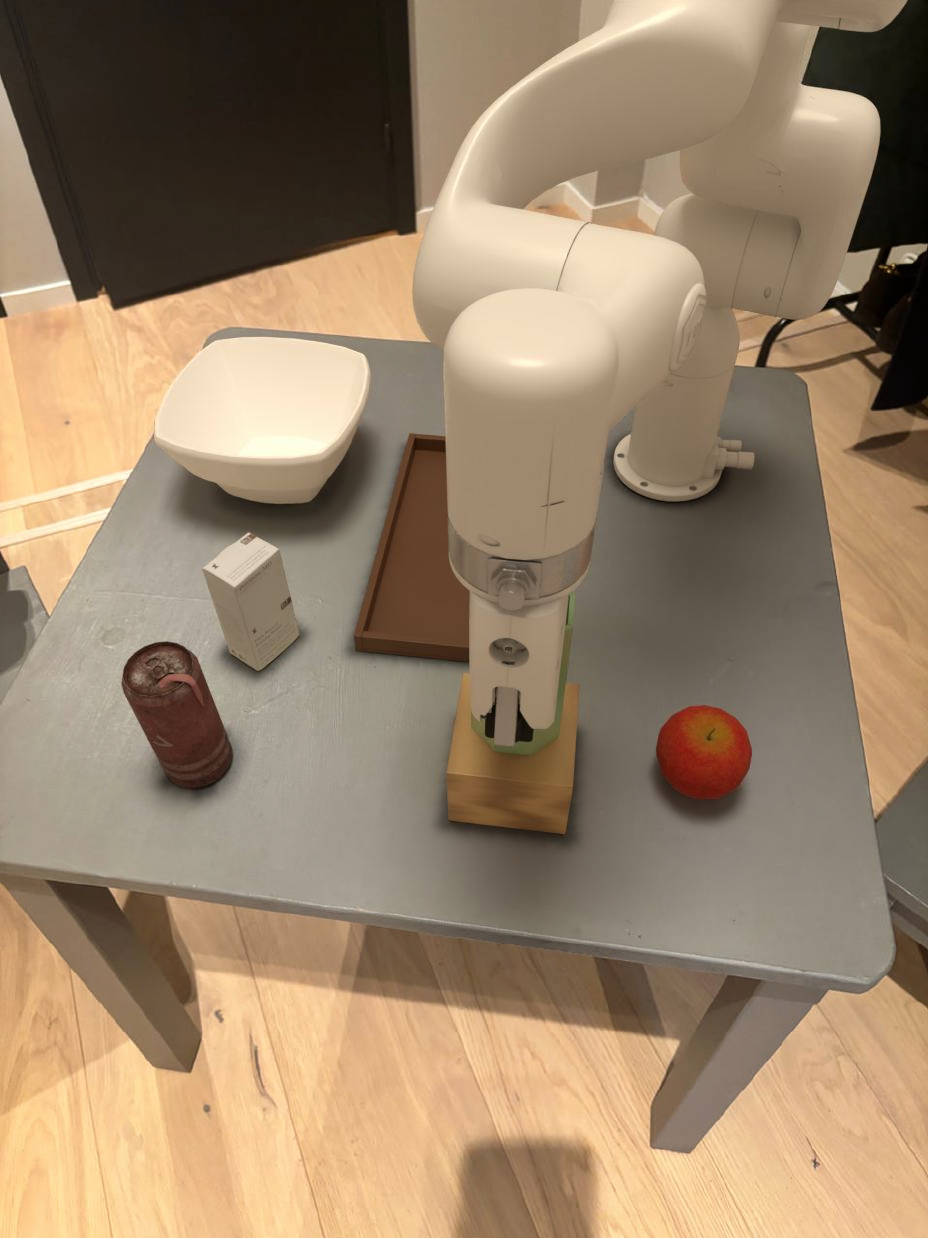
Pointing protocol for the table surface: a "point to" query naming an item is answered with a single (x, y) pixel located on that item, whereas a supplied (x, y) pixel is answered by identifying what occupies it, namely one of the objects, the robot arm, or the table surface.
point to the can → (177, 713)
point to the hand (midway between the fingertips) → (509, 730)
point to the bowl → (265, 415)
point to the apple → (703, 752)
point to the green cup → (551, 733)
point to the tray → (416, 567)
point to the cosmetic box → (252, 600)
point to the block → (511, 774)
